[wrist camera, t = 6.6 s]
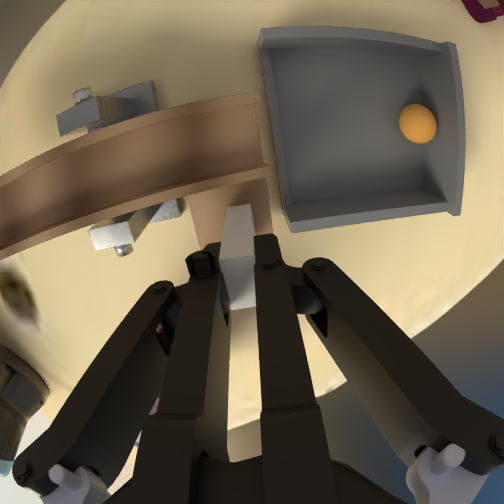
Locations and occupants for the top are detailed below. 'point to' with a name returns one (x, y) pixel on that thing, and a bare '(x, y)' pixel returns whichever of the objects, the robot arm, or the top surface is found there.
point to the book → (484, 9)
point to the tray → (361, 124)
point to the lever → (142, 174)
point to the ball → (417, 123)
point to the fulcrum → (103, 115)
